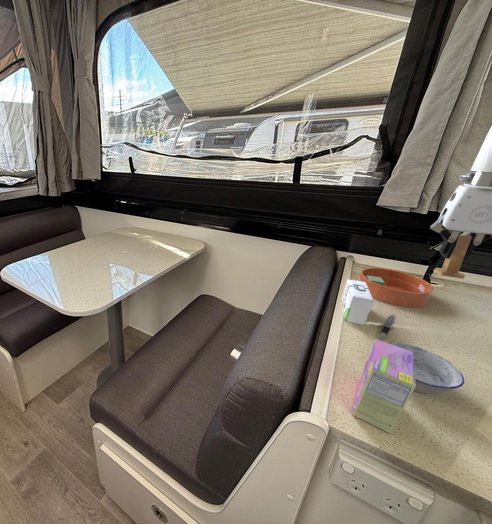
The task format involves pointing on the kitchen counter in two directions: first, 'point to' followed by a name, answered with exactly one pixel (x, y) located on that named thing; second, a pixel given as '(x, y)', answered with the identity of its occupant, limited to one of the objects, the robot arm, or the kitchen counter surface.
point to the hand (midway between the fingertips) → (452, 256)
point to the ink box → (356, 302)
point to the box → (384, 385)
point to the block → (376, 280)
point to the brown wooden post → (455, 258)
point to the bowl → (432, 371)
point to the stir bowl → (397, 287)
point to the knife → (386, 327)
